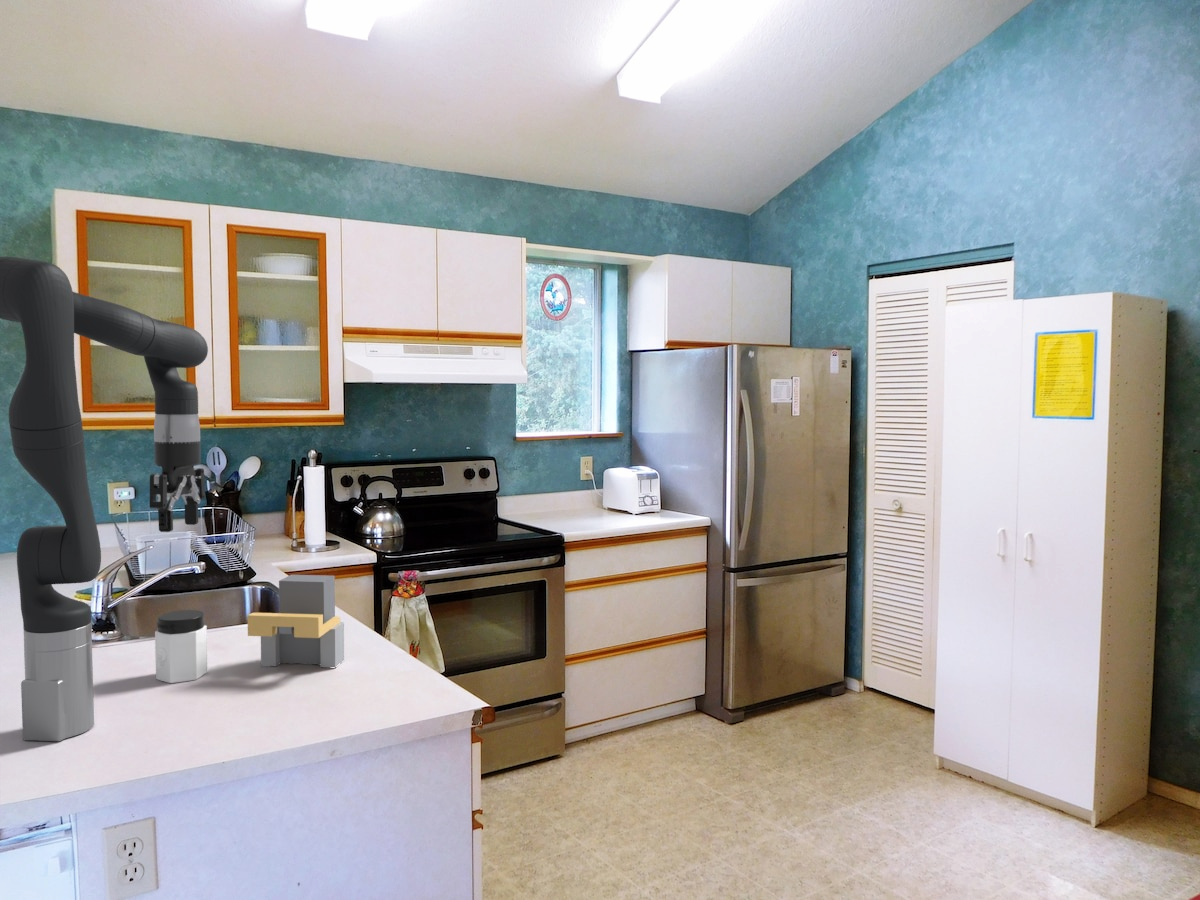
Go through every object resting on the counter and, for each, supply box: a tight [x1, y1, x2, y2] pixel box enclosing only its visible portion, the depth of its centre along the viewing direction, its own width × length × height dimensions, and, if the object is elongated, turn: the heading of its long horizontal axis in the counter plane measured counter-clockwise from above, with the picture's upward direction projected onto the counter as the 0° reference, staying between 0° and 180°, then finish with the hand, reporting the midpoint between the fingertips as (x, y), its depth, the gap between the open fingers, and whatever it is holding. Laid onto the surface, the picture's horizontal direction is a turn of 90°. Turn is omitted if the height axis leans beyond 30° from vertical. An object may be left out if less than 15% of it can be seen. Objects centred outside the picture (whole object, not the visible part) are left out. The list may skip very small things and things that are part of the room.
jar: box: [154, 609, 209, 684], centre depth 163 cm, size 9×8×12 cm
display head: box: [260, 574, 345, 668], centre depth 170 cm, size 14×15×17 cm
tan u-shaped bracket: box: [247, 612, 341, 638], centre depth 169 cm, size 11×14×4 cm
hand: (179, 527), depth 155 cm, fingers open, 8 cm apart
